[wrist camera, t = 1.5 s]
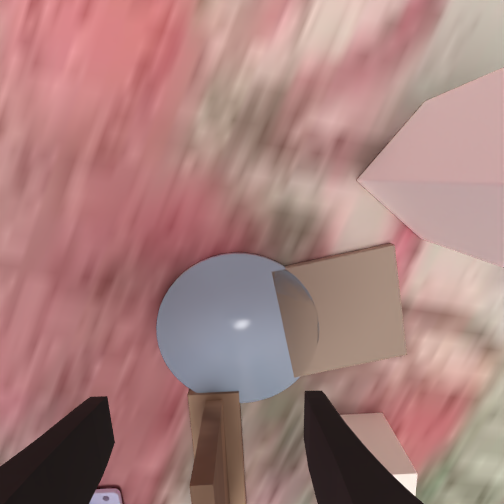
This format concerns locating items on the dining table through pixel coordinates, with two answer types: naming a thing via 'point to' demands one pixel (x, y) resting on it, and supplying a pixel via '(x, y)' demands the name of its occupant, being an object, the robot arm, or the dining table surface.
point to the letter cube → (383, 446)
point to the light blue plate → (228, 327)
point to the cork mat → (343, 310)
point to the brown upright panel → (216, 448)
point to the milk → (449, 170)
